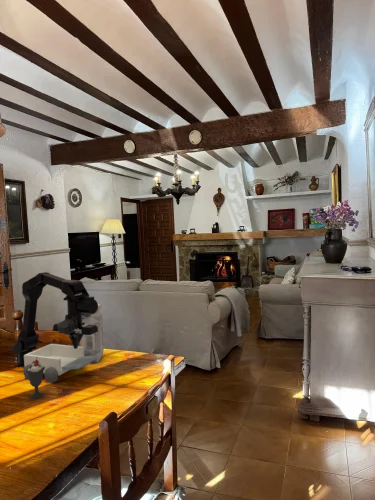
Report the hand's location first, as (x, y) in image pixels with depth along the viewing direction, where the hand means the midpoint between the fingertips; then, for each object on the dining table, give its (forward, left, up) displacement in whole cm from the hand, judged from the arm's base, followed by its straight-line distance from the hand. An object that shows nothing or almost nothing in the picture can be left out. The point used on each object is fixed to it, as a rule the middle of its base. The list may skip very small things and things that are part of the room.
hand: (75, 348), depth 149 cm
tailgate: (-2, 0, -7) cm, 7 cm away
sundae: (-2, -20, -12) cm, 23 cm away
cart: (-11, 0, -12) cm, 16 cm away
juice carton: (-5, +18, -12) cm, 22 cm away
